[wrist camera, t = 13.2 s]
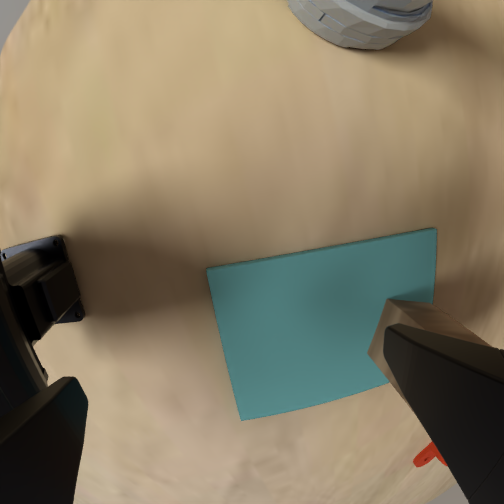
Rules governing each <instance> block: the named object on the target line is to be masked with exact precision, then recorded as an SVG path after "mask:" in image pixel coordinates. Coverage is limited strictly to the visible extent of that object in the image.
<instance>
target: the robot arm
mask: <svg viewBox="0 0 504 504" xmlns="http://www.w3.org/2000/svg"><path fill="white" fill-rule="evenodd" d="M55 240H57V241H58V243H59V244H58V245H57V244H56V243H55ZM5 254H6V255H7V257H6V256H5ZM77 312H78V313H79V314H80V316H79V315H77ZM84 317H85V311H84V308H83V305H82V303H81V300H80V292H79V289H78V286H77V282H76V279H75V276H74V272H73V269H72V265H71V263H70V262H69V260H68V256H67V252H66V248H65V244H64V240H63V238H62V237H61V236H60V235H54V236H51V237H47V238H43V239H39V240H35V241H31V242H28V243H24V244H20V245H17V246H13V247H10V248H6V249H4V250H2V251H1V250H0V504H73V501H74V494H75V488H76V482H77V476H78V470H79V465H80V460H81V455H82V450H83V444H84V436H85V427H86V419H87V411H88V399H87V397H86V395H85V393H84V391H83V389H82V387H81V385H80V383H79V381H78V380H77V379H76V378H75V377H62V378H61V379H59V380H57V381H56V382H54V383H53V384H51V385H50V386H48V385H47V380H48V374H47V372H46V370H45V368H43V367H42V365H41V363H40V361H39V359H38V357H37V355H36V353H35V350H34V348H33V346H34V345H35V343H36V342H37V341H38V340H40V339H41V338H42V337H43V336H44V335H45V334H46V333H47V331H48V330H49V329H50V328H51V327H52V326H53V325H54V324H59V323H69V322H77V321H82V320H83V318H84ZM383 355H384V358H385V360H386V362H387V364H388V366H389V368H390V370H391V372H392V374H393V376H394V378H395V380H396V382H397V384H398V386H399V388H400V390H401V392H402V394H403V395H404V397H405V399H406V400H407V402H408V404H409V405H410V407H411V408H412V410H413V411H414V413H415V414H416V416H417V418H418V419H419V421H420V422H421V424H422V425H423V427H424V429H425V430H426V432H427V433H428V435H429V436H430V438H431V440H432V441H433V443H434V444H435V446H436V448H437V449H438V451H439V453H440V454H441V456H442V458H443V459H444V461H445V462H446V464H447V466H448V467H449V469H450V471H451V472H452V474H453V476H454V478H455V479H456V481H457V483H458V484H459V486H460V487H461V490H462V491H463V493H464V495H465V497H466V498H467V499H468V502H469V504H504V350H503V349H500V350H499V349H498V348H494V347H490V346H486V345H482V344H478V343H474V342H470V341H466V340H462V339H458V338H454V337H450V336H446V335H442V334H438V333H434V332H431V331H427V330H423V329H419V328H416V327H412V326H408V325H404V324H401V323H396V324H393V325H390V326H387V327H386V328H385V332H384V343H383Z"/></svg>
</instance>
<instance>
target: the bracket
mask: <svg viewBox="0 0 504 504" xmlns="http://www.w3.org/2000/svg"><path fill="white" fill-rule="evenodd" d="M435 456H436V457H437V458H438V459H439V460H440V461H441V462H442V463H443V464H444V465H445V466H447V464H446V462H445V461H444V459H443V458H442V456H441V454H440V453H439V451H438V449H437V448H436V446H435V444H434V443H433V441H432V442H431V443H430V444H429V445H428V446H427V447H426V448H425V449H423V450H422V451H421V452H420V453H419V454H418V455H417V456H416V457H415V458H414V460H413V463H414V464H415V466H416V467H421V466H423V465H425V464H427V463H428V462H430V461H431V460H432V459H433V458H434V457H435Z"/></svg>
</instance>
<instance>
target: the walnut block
mask: <svg viewBox="0 0 504 504" xmlns="http://www.w3.org/2000/svg"><path fill="white" fill-rule="evenodd" d="M396 323H401V324H404V325H408V326H412V327H416V328H419V329H423V330H427V331H431V332H434V333H438V334H442V335H446V336H450V337H454V338H458V339H462V340H466V341H470V342H474V343H478V344H482V345H486V346H490V345H489V344H488V343H486V342H485V341H484V340H482V339H481V338H479V337H478V336H477V335H475V334H474V333H473V332H471V331H470V330H468V329H467V328H466V327H464V326H463V325H461V324H460V323H458V322H457V321H456V320H454V319H453V318H451V317H450V316H449V315H447V314H446V313H444V312H443V311H441V310H440V309H438V308H437V307H435V306H434V305H433V304H431V303H426V302H416V301H406V300H396V299H386V302H385V305H384V308H383V311H382V314H381V317H380V319H379V322H378V325H377V328H376V331H375V333H374V336H373V339H372V341H371V344H370V346H369V349H368V352H367V354H368V355H369V357H370V358H371V359H372V360H373V361H374V363H375V364H376V365H377V366H378V368H379V369H380V370H381V371H382V373H383V374H384V375H385V377H386V378H387V379H388V380H389V382H390V383H391V384H392V385H393V387H394V388H395V389H396V390H397V392H398V393H399V394H400V395H401V397H402V398H403V399H404V401H405V402H406V403H407V404H408V402H407V400H406V399H405V397H404V395H403V394H402V392H401V390H400V388H399V386H398V384H397V382H396V380H395V378H394V376H393V374H392V372H391V370H390V368H389V366H388V364H387V362H386V360H385V358H384V355H383V343H384V332H385V328H386V327H387V326H390V325H393V324H396ZM490 347H492V346H490ZM408 406H409V407H410V405H409V404H408ZM410 408H411V407H410ZM411 410H412V408H411ZM412 411H413V410H412ZM413 412H414V411H413ZM415 415H416V414H415Z"/></svg>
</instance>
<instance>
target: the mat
mask: <svg viewBox="0 0 504 504" xmlns="http://www.w3.org/2000/svg"><path fill="white" fill-rule="evenodd" d="M436 243H437V229H435V228H428V229H423V230H417V231H412V232H406V233H401V234H396V235H390V236H385V237H379V238H374V239H368V240H363V241H357V242H352V243H346V244H341V245H335V246H330V247H324V248H319V249H313V250H307V251H302V252H296V253H291V254H285V255H279V256H274V257H268V258H262V259H256V260H251V261H245V262H239V263H233V264H228V265H222V266H216V267H210V268H206V272H207V277H208V282H209V287H210V292H211V296H212V301H213V306H214V310H215V315H216V320H217V324H218V329H219V333H220V337H221V342H222V346H223V351H224V355H225V359H226V363H227V367H228V372H229V376H230V380H231V384H232V388H233V392H234V396H235V400H236V404H237V407H238V411H239V415H240V419H241V421H244V420H250V419H255V418H261V417H266V416H271V415H276V414H281V413H286V412H290V411H294V410H299V409H303V408H307V407H311V406H315V405H319V404H323V403H326V402H330V401H333V400H337V399H340V398H344V397H347V396H350V395H354V394H357V393H360V392H363V391H366V390H369V389H372V388H375V387H378V386H381V385H383V384H386V383H389V380H388V379H387V378H386V377H385V375H384V374H383V373H382V371H381V370H380V369H379V368H378V366H377V365H376V364H375V363H374V361H373V360H372V359H371V358H370V357H369V355H368V354H367V352H368V349H369V346H370V344H371V341H372V339H373V336H374V333H375V331H376V328H377V325H378V322H379V319H380V317H381V314H382V311H383V308H384V305H385V302H386V299H396V300H406V301H416V302H426V303H431V304H433V295H434V283H435V268H436Z"/></svg>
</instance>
